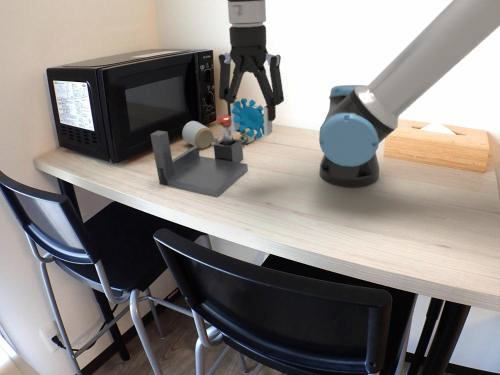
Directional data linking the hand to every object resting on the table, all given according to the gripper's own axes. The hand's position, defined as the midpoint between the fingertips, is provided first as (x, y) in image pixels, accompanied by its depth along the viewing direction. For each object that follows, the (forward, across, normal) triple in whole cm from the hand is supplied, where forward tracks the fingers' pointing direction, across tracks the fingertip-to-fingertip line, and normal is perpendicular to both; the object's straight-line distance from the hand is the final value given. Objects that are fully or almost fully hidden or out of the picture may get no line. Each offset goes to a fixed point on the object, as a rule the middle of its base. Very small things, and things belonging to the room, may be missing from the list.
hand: (251, 131), depth 86 cm
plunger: (+11, -15, +13) cm, 22 cm away
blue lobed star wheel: (+1, 0, 0) cm, 1 cm away
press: (+15, -16, +4) cm, 22 cm away
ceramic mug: (+16, -30, +22) cm, 40 cm away
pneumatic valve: (+16, -17, +29) cm, 37 cm away
